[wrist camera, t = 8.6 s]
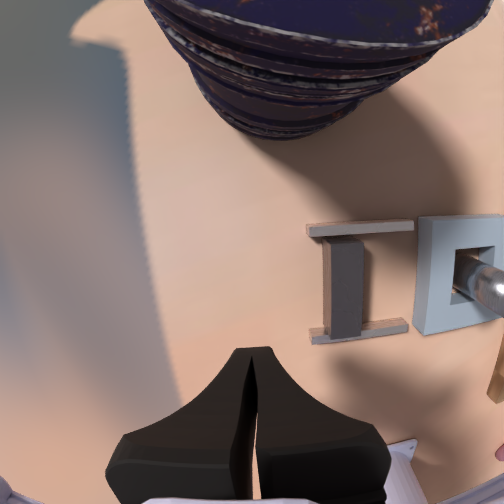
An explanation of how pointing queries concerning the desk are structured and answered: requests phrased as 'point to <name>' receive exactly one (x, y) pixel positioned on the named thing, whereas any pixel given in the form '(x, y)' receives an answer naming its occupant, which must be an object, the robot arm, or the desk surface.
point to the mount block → (498, 378)
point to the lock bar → (343, 286)
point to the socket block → (452, 269)
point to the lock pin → (480, 282)
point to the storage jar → (305, 53)
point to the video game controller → (500, 453)
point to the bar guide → (359, 228)
